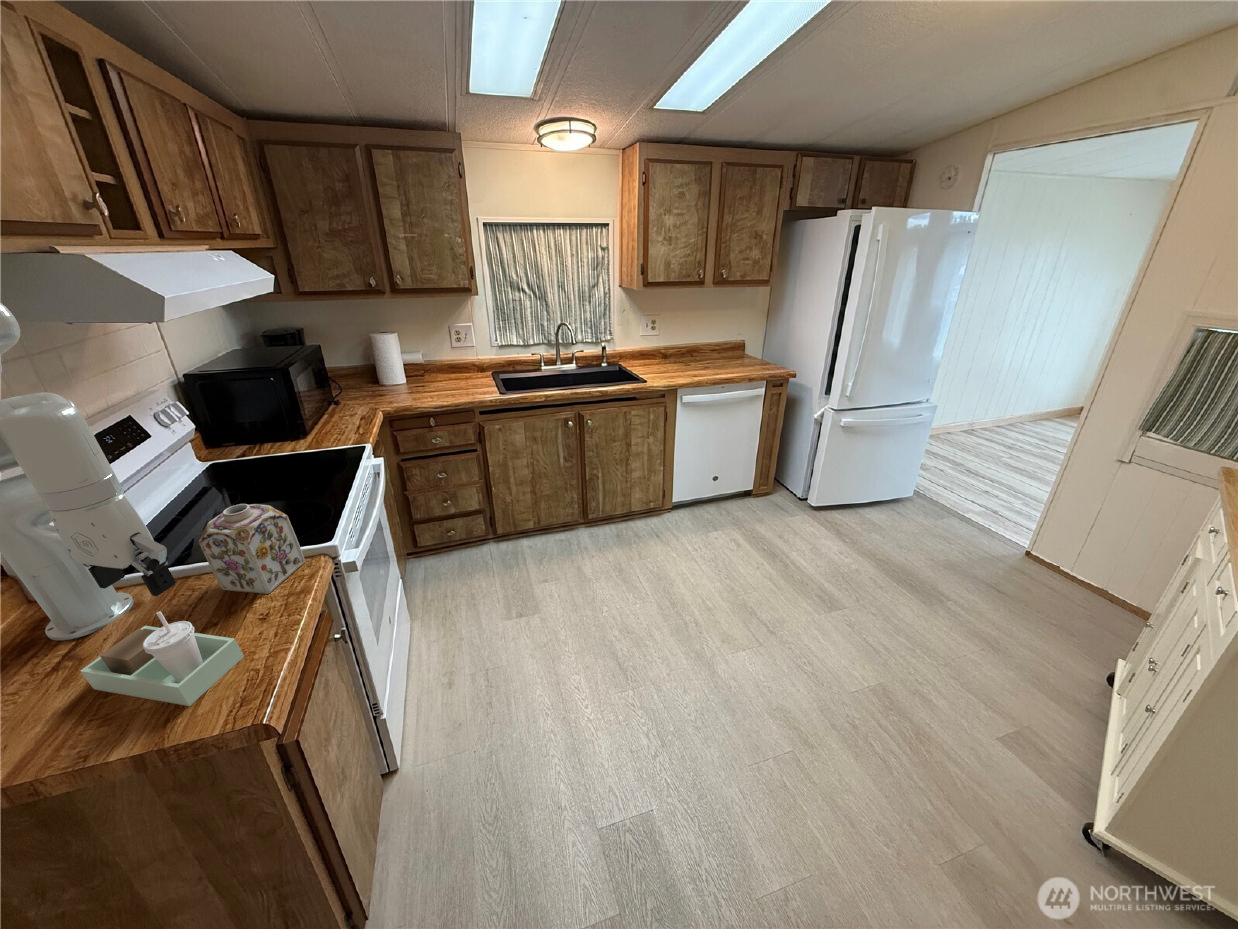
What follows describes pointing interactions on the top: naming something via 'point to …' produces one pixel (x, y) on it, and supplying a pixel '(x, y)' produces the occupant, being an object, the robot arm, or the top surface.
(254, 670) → the top surface
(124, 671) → the walnut block
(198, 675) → the tote
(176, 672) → the white cup
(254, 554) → the decorative jar
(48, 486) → the robot arm
